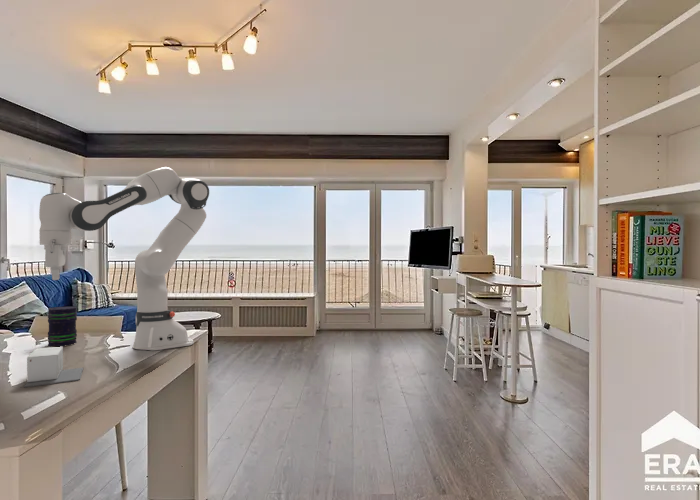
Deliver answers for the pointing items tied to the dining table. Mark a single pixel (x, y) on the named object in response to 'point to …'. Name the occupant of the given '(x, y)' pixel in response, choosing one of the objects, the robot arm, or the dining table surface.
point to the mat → (60, 378)
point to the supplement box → (44, 364)
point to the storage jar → (62, 325)
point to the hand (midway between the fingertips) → (55, 279)
